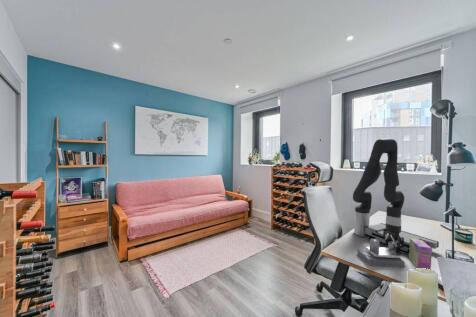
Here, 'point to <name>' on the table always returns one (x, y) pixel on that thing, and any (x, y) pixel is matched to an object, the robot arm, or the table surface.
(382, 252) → the scale pan
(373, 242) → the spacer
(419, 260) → the box
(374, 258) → the scale base
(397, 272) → the table surface
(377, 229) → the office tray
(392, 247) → the spacer
